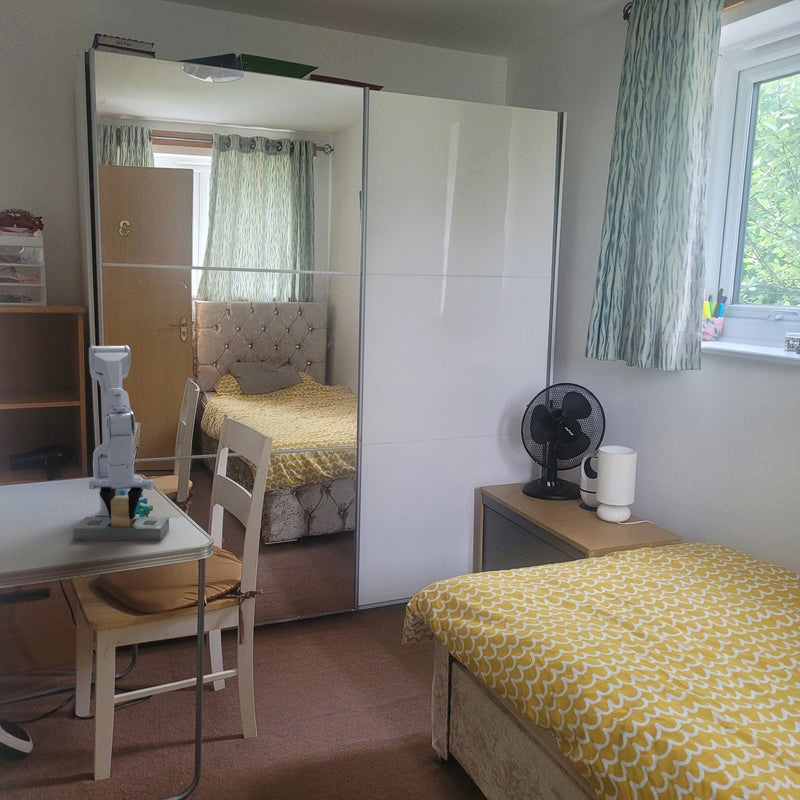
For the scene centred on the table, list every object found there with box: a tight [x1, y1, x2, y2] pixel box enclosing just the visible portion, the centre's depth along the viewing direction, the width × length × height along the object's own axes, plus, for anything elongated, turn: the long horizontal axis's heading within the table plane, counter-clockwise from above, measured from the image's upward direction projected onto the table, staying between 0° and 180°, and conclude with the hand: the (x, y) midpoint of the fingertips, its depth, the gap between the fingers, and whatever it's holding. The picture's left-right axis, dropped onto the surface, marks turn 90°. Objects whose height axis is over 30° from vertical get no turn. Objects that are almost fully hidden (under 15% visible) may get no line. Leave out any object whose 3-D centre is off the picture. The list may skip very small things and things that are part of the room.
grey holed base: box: [73, 516, 170, 542], centre depth 185 cm, size 9×20×3 cm, turn 94°
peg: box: [111, 496, 133, 526], centre depth 184 cm, size 4×4×8 cm
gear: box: [108, 489, 154, 517], centre depth 196 cm, size 11×6×10 cm
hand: (122, 517), depth 184 cm, fingers closed on peg, 4 cm apart
